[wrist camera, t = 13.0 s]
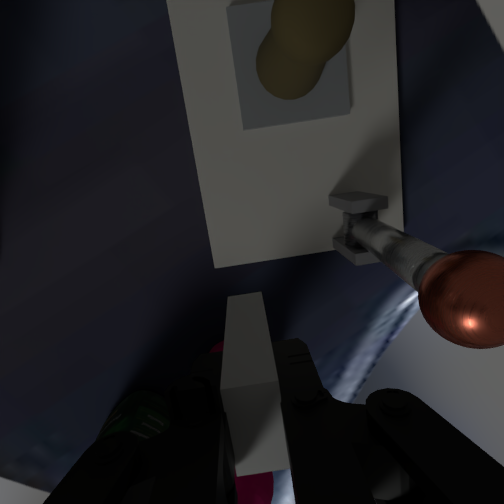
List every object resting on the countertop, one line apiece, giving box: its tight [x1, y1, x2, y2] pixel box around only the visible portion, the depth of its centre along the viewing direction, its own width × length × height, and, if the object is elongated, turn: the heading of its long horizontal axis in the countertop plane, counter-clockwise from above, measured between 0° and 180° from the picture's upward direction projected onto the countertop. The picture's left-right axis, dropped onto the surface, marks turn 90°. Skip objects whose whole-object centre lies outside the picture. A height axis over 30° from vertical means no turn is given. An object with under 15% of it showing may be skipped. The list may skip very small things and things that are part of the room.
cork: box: [256, 0, 355, 100], centre depth 25 cm, size 6×6×11 cm
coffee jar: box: [95, 390, 170, 442], centre depth 32 cm, size 10×8×19 cm
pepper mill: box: [209, 340, 274, 504], centre depth 30 cm, size 7×7×20 cm
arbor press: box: [166, 0, 404, 268], centre depth 30 cm, size 20×26×8 cm
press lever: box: [342, 210, 504, 349], centre depth 22 cm, size 4×4×20 cm
